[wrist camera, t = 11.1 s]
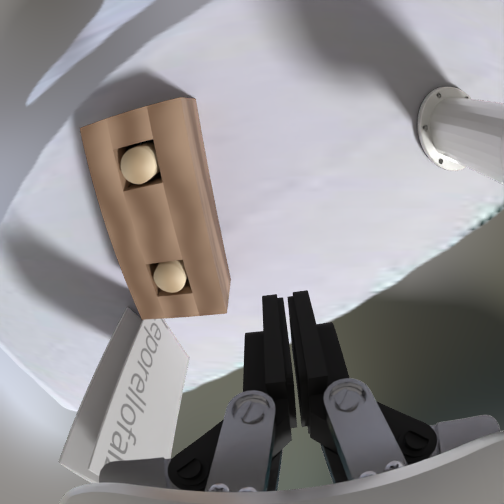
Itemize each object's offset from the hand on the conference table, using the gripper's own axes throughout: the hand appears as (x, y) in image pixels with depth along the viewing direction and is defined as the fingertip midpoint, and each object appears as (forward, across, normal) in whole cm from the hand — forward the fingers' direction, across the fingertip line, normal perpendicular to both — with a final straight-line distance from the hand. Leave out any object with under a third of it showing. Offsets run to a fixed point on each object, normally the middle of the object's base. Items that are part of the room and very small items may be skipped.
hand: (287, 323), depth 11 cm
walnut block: (+29, +13, +3) cm, 32 cm away
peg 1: (+29, +13, -4) cm, 32 cm away
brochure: (+29, +22, +26) cm, 45 cm away
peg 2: (+29, +13, +10) cm, 33 cm away
